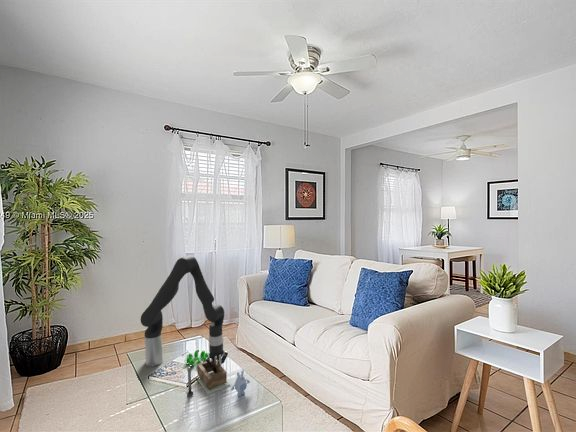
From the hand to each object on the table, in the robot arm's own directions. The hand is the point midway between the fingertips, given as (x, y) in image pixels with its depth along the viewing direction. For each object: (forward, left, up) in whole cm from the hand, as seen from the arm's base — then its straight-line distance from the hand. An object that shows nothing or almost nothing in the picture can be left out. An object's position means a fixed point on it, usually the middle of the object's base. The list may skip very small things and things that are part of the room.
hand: (216, 371), depth 176 cm
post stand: (+7, -18, -3) cm, 19 cm away
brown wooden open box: (+2, -4, -1) cm, 5 cm away
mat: (+3, -4, -3) cm, 6 cm away
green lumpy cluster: (-21, -3, -3) cm, 22 cm away
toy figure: (+22, +3, -3) cm, 22 cm away
